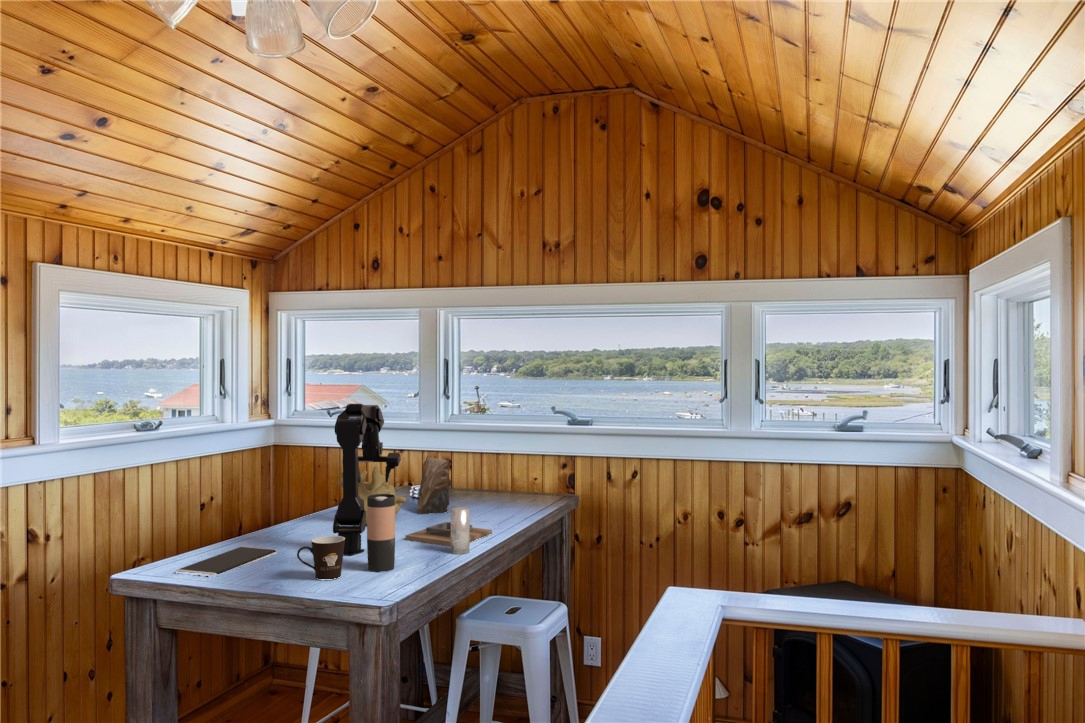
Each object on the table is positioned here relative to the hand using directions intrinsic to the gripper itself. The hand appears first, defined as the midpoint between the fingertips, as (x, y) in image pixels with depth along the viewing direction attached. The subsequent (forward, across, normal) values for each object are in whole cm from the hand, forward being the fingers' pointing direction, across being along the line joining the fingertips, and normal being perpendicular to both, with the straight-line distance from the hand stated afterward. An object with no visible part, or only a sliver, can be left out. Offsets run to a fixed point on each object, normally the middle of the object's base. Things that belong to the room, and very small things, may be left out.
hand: (373, 482), depth 262 cm
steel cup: (+5, -33, +36) cm, 49 cm away
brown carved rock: (+24, -15, -23) cm, 37 cm away
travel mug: (0, -13, +53) cm, 55 cm away
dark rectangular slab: (+2, +31, +48) cm, 57 cm away
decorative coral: (+19, +2, -8) cm, 21 cm away
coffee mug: (-3, +1, +61) cm, 61 cm away
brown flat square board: (+11, -28, +17) cm, 34 cm away
